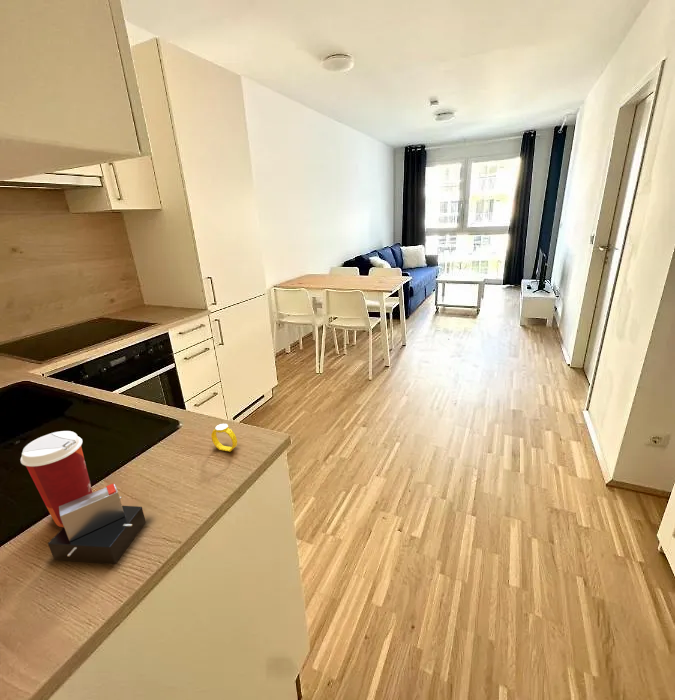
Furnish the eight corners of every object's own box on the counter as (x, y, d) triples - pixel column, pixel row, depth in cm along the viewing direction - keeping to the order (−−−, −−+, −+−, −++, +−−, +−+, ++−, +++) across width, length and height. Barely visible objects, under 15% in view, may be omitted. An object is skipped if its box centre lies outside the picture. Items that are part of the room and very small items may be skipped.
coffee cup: (112, 498, 67) (91, 429, 62) (78, 534, 60) (51, 459, 54) (72, 495, 68) (47, 428, 63) (33, 531, 61) (2, 457, 55)
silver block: (69, 542, 54) (59, 515, 52) (68, 531, 56) (58, 505, 54) (125, 516, 59) (117, 490, 57) (121, 507, 60) (114, 482, 59)
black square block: (39, 571, 54) (31, 553, 52) (95, 511, 65) (89, 494, 63) (112, 576, 53) (106, 558, 51) (156, 514, 63) (152, 497, 62)
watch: (240, 448, 81) (237, 425, 79) (233, 455, 79) (229, 432, 77) (219, 443, 83) (215, 421, 81) (211, 450, 81) (207, 427, 79)
